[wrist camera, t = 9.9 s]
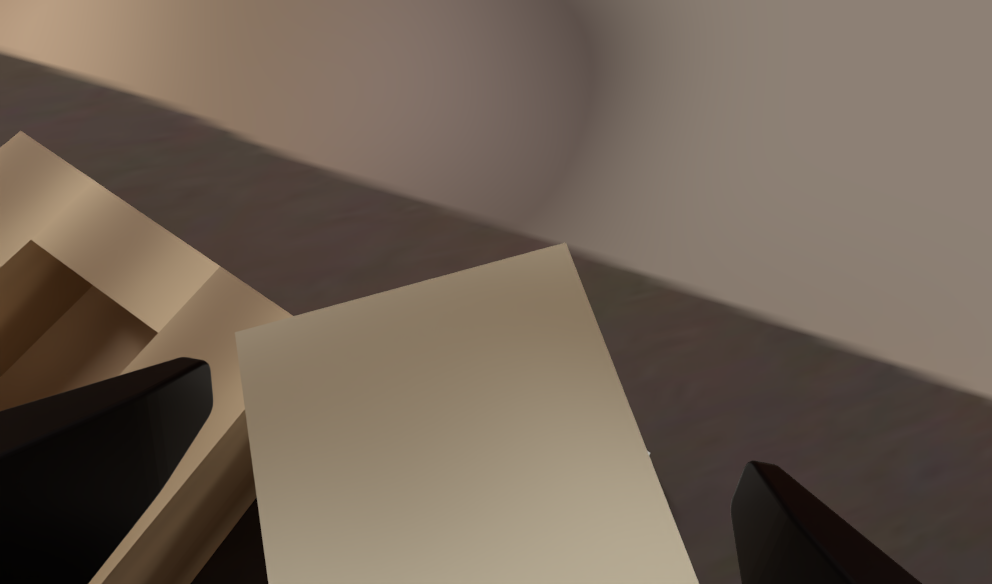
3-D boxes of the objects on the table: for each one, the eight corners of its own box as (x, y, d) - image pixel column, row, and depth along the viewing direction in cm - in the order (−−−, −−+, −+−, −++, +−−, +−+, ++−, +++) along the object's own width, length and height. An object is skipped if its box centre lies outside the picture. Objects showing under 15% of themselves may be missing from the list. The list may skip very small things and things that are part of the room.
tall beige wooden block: (559, 540, 16) (703, 597, 5) (429, 584, 16) (289, 747, 5) (518, 411, 18) (565, 242, 7) (398, 448, 17) (234, 332, 6)
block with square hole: (353, 371, 20) (311, 328, 15) (144, 642, 17) (12, 692, 12) (118, 210, 22) (20, 130, 18) (-103, 421, 19) (-294, 392, 14)
